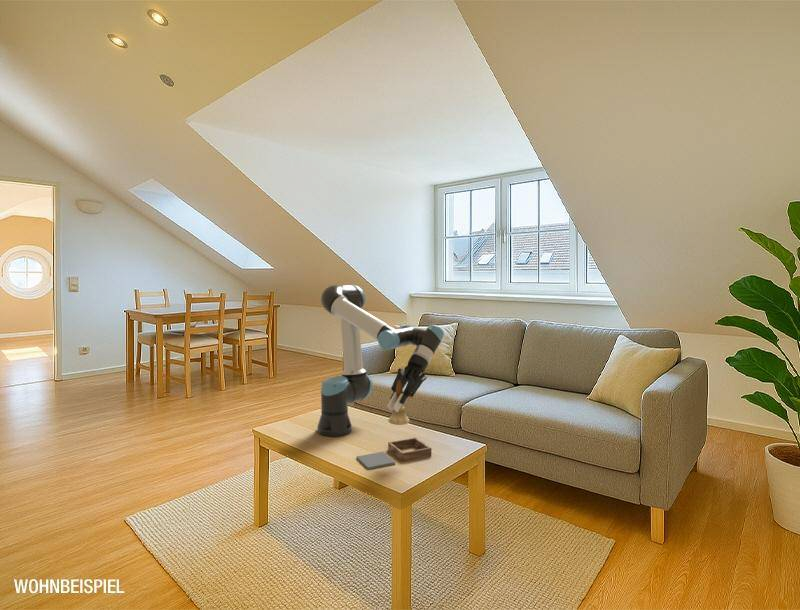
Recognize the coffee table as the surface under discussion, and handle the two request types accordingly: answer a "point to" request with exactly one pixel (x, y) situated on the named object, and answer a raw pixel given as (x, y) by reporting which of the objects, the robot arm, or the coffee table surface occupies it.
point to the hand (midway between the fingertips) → (392, 409)
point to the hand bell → (399, 416)
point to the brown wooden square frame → (404, 456)
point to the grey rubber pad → (375, 460)
